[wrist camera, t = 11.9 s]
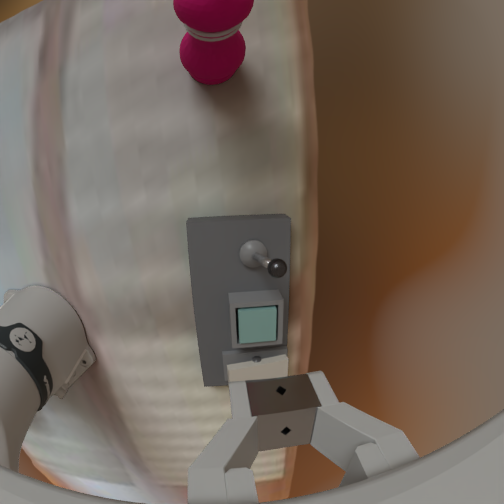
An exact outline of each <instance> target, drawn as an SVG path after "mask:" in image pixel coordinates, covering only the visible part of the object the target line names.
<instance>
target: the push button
mask: <svg viewBox="0 0 504 504" xmlns="http://www.w3.org/2000/svg"><path fill="white" fill-rule="evenodd" d="M276 314H277V309H276V306H275V305H270V306H257V307H244V308H237V328H238V336H239V342H240V344H241V343H253V342H265V341H275V340H276Z"/></svg>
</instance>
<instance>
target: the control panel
mask: <svg viewBox="0 0 504 504" xmlns="http://www.w3.org/2000/svg"><path fill="white" fill-rule="evenodd" d="M186 225H187V240H188V252H189V264H190V275H191V286H192V295H193V305H194V314H195V322H196V330H197V338H198V346H199V353H200V361H201V368H202V374H203V381H204V387H205V386H223V385H228V374H227V365H230V364H236V363H242V362H247V361H252V358H253V357H254V356H260V357H261V359H264V358H269V357H274V356H279V355H283V354H285V355H286V356H287V350H288V349H287V334H288V310H289V280H290V229H291V218H290V217H289V216H287V215H286V214H264V215H239V216H217V217H199V218H188V220H187V222H186ZM254 252H258V253H260V254H262V255H264V256H265V257H267V258H269V259H271V260H272V259H275V258H279V259H282V260H284V261H285V263H286V265H287V272H286V274H285V275H284V276H283V277H281V278H273V277H272V276H270V275H269V273H268V270H267V268H266V267H264V266H263V265H261V264H259V263H257V262H256V261H254V260H253V259H252V254H253V253H254ZM270 305H275V306H276V309H277V314H276V340H275V341H265V342H253V343H241V344H240V342H239V336H238V328H237V308H244V307H257V306H270Z"/></svg>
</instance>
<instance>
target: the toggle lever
mask: <svg viewBox="0 0 504 504" xmlns="http://www.w3.org/2000/svg"><path fill="white" fill-rule="evenodd" d="M252 259H253V260H254V261H256V262H257V263H259V264H261V265H263V266H264V267H266V268H267V270H268V273H269V275H270V276H272V277H273V278H281V277H283V276H284V275H285V274H286V272H287V265H286V263H285V261H284V260H282V259H279V258H275V259H272V260H271V259H269V258H267V257H265V256H264V255H262V254H260V253H258V252H254V253H253V254H252Z"/></svg>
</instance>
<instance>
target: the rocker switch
mask: <svg viewBox="0 0 504 504" xmlns="http://www.w3.org/2000/svg"><path fill="white" fill-rule="evenodd" d="M288 360H289V359H288V357H287V356H286V355H285V354H283V355H279V356H274V357H269V358H264V359H261V357H260V356H254V357H253V358H252V361H247V362H242V363H236V364H230V365H227V374H228V385H229V382H232V381H245V380H258V379H270V378H279V377H286V376H288Z"/></svg>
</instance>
